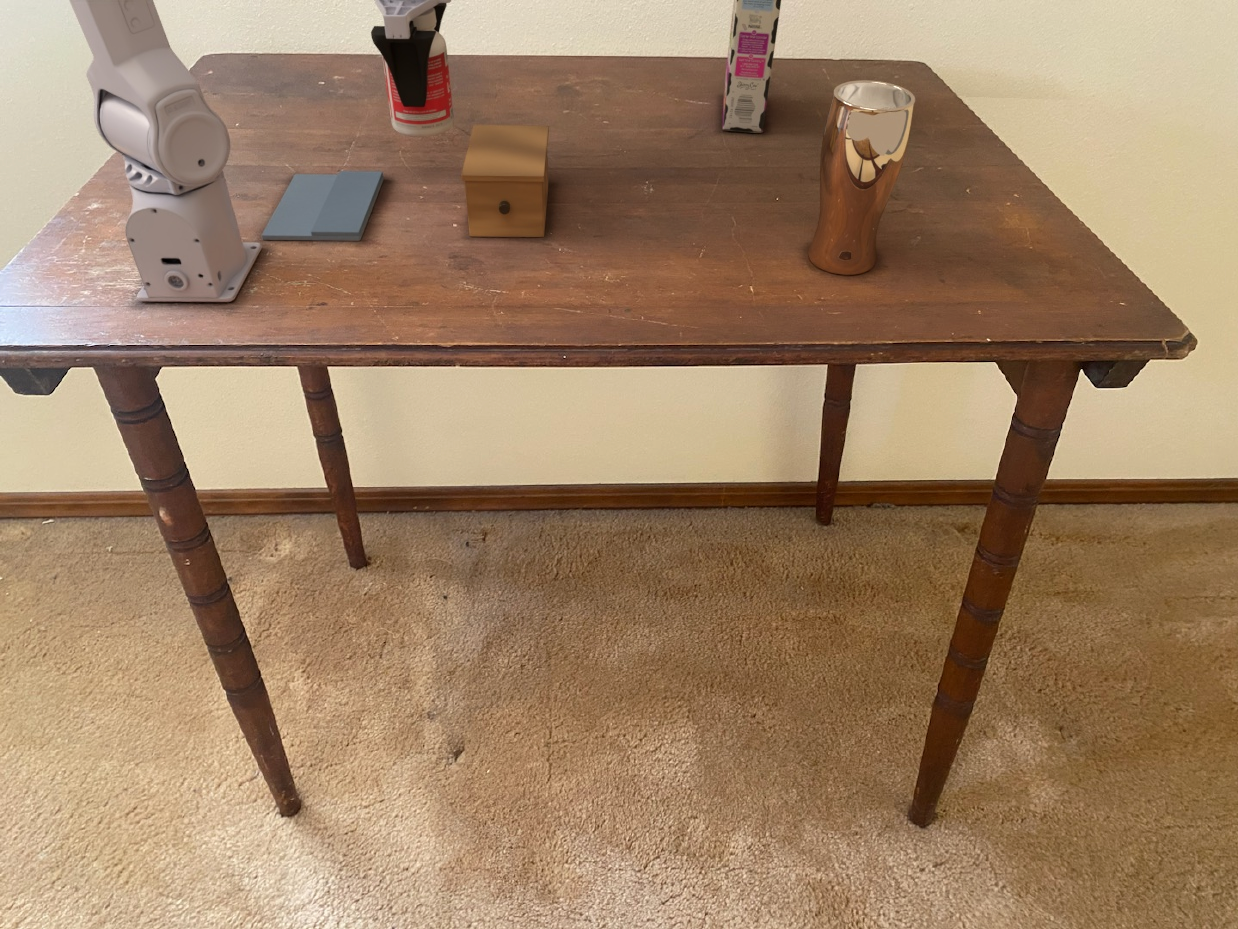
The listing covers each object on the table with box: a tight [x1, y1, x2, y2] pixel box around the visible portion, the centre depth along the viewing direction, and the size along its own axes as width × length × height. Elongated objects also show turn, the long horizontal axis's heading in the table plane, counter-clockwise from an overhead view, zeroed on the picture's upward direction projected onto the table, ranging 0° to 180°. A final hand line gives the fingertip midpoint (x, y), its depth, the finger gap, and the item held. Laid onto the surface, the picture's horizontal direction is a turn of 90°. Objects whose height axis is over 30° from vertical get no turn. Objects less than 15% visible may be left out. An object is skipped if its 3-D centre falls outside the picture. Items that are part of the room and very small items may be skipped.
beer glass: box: [807, 79, 916, 276], centre depth 81 cm, size 7×7×15 cm
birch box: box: [460, 124, 550, 238], centre depth 89 cm, size 12×7×6 cm, turn 1°
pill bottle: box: [381, 7, 454, 138], centre depth 90 cm, size 6×6×11 cm
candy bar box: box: [722, 0, 782, 134], centre depth 105 cm, size 11×5×16 cm, turn 175°
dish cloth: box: [261, 170, 385, 242], centre depth 91 cm, size 13×9×1 cm
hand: (419, 92), depth 92 cm, fingers closed on pill bottle, 6 cm apart
